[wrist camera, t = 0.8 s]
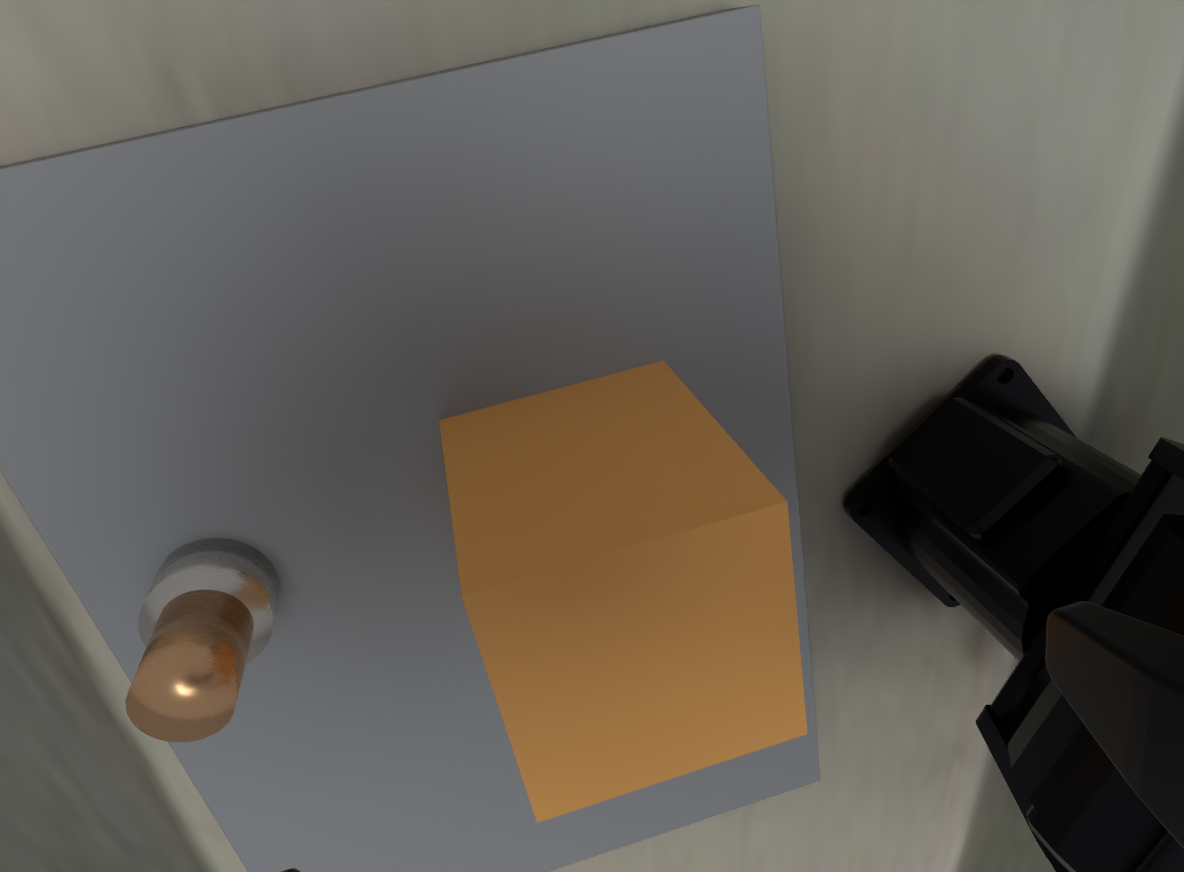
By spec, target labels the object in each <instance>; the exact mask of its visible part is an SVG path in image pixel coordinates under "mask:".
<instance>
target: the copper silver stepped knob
mask: <svg viewBox="0 0 1184 872" xmlns="http://www.w3.org/2000/svg"><path fill="white" fill-rule="evenodd" d="M279 594H280V580H279V576H278V573H277V571H276V569H275V567H274V566H273V564H272V563H271V561H270V560H269V559H268V558H267V557H266V556H265V555H264V554H262V553H261V552H260V551H258V550H257V549H255V548H254V547H252V546H249V545H247V544H245V543H242V542H239V541H235V540H231V539H224V538H210V539H202V540H197V541H194V542H190V543H188V544H186V545H183V546H181V547H180V548H178V549H176V550H175V551H174V552H172V553H171V554H170V555H169V556H168V557H167V558H166V559H165V560H164V562H163V563H162V564H161V566H160V568H159V570H158V572H157V574H156V577H155V579H154V581H153V583H152V586H151V588H150V590H149V592H148V595H147V597H146V599H145V601H144V603H143V606H142V608H141V611H140V614H139V619H138V629H139V634H140V637H141V639H142V642H143V643H144V645H145V646H146V650H145V652H144V655H143V657H142V660H141V662H140V664H139V667H138V669H137V672H136V674H135V677H134V679H133V682H132V684H131V686H130V689H129V691H128V694H127V697H126V710H127V714H128V716H129V718H130V720H131V721H132V723H133V724H134V725H135V726H136V727H137V728H138V729H140V730H141V731H142V732H144V733H145V734H147V735H149V736H151V737H154V738H156V739H160V740H164V741H169V742H191V741H197V740H201V739H204V738H207V737H209V736H211V735H213V734H215V733H217V732H218V731H220V730H221V729H222V728H223V727H225V726H226V725H227V723H228V722H229V721H230V719H231V718H232V716H233V713H234V711H235V707H236V702H237V698H238V694H239V690H240V685H241V681H242V677H243V673H244V669H245V665H246V664H248V663H250V662H251V661H252V660H254V659H255V658H256V657H257V656H258V655H259V654H261V652H262V651H263V650H264V649H265V647H266V646H267V644H268V642H269V639H270V637H271V633H272V628H273V623H274V618H275V613H276V609H277V604H278V599H279Z"/></svg>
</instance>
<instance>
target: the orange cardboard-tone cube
mask: <svg viewBox="0 0 1184 872" xmlns="http://www.w3.org/2000/svg"><path fill="white" fill-rule="evenodd" d="M439 425H440V432H441V440H442V448H443V455H444V463H445V471H446V478H447V486H448V494H449V501H450V509H451V517H452V524H453V532H454V540H455V547H456V555H457V563H458V571H459V578H460V586H461V594H462V599H463V602H464V605H465V608H466V611H467V614H468V617H469V620H470V623H471V626H472V629H473V632H474V635H475V638H476V641H477V644H478V647H479V650H480V653H481V656H482V659H483V662H484V665H485V668H486V671H487V674H488V677H489V680H490V683H491V686H492V689H493V692H494V695H495V698H496V701H497V704H498V707H499V710H500V713H501V716H502V719H503V722H504V725H505V728H506V731H507V734H508V737H509V740H510V743H511V746H512V749H513V752H514V755H515V758H516V761H517V764H518V767H519V770H520V773H521V776H522V779H523V782H524V785H525V788H526V791H527V794H528V797H529V800H530V803H531V806H532V809H533V812H534V815H535V818H536V821H537V823H538V822H541V821H544V820H548V819H551V818H554V817H557V816H560V815H563V814H566V813H569V812H572V811H575V810H578V809H581V808H584V807H587V806H590V805H593V804H596V803H599V802H602V801H605V800H608V799H611V798H614V797H617V796H621V795H624V794H627V793H630V792H633V791H636V790H639V789H642V788H645V787H648V786H651V785H654V784H657V783H660V782H663V781H666V780H669V779H672V778H675V777H678V776H681V775H684V774H687V773H690V772H693V771H697V770H700V769H703V768H706V767H709V766H712V765H715V764H718V763H721V762H724V761H727V760H730V759H733V758H736V757H739V756H742V755H745V754H748V753H751V752H754V751H757V750H760V749H763V748H766V747H769V746H773V745H776V744H779V743H782V742H785V741H788V740H791V739H794V738H797V737H800V736H803V735H806V734H807V723H806V711H805V700H804V688H803V677H802V665H801V653H800V642H799V630H798V619H797V607H796V596H795V584H794V572H793V561H792V549H791V538H790V526H789V515H788V503H787V501H786V500H785V498H784V497H783V496H782V495H781V494H780V493H779V492H778V490H777V489H776V488H775V487H774V486H773V485H772V484H771V482H770V481H769V480H768V479H767V478H766V477H765V476H764V474H763V473H762V472H761V471H760V470H759V469H758V468H757V467H756V465H755V464H754V463H753V462H752V461H751V460H750V459H749V457H748V456H747V455H746V454H745V453H744V452H743V451H742V449H741V448H740V447H739V446H738V445H737V444H736V443H735V441H734V440H733V439H732V438H731V437H730V436H729V435H728V434H727V432H726V431H725V430H724V429H723V428H722V427H721V426H720V424H719V423H718V422H717V421H716V420H715V419H714V418H713V416H712V415H711V414H710V413H709V412H708V411H707V410H706V408H705V407H704V406H703V405H702V404H701V403H700V402H699V401H698V399H697V398H696V397H695V396H694V395H693V394H692V393H691V391H690V390H689V389H688V388H687V387H686V386H685V385H684V383H683V382H682V381H681V380H680V379H679V378H678V377H677V375H676V374H675V373H674V372H673V371H672V370H671V369H670V368H669V366H668V365H667V364H666V363H665V362H664V361H660V362H656V363H652V364H648V365H644V366H641V367H637V368H633V369H629V370H626V371H622V372H618V373H614V374H611V375H607V376H603V377H599V378H596V379H592V380H588V381H584V382H581V383H577V384H573V385H569V386H566V387H562V388H558V389H554V390H551V391H547V392H543V393H539V394H536V395H532V396H528V397H524V398H521V399H517V400H513V401H509V402H506V403H502V404H498V405H494V406H491V407H487V408H483V409H479V410H476V411H472V412H468V413H464V414H461V415H457V416H453V417H449V418H446V419H442V420H439Z"/></svg>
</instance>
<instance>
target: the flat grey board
mask: <svg viewBox="0 0 1184 872" xmlns="http://www.w3.org/2000/svg"><path fill="white" fill-rule="evenodd" d="M660 361H664V362H665V363H666V364H667V365H668V366H669V368H670V369H671V370H672V371H673V372H674V373H675V374H676V375H677V377H678V378H679V379H680V380H681V381H682V382H683V383H684V385H685V386H686V387H687V388H688V389H689V390H690V391H691V393H692V394H693V395H694V396H695V397H696V398H697V399H698V401H699V402H700V403H701V404H702V405H703V406H704V407H705V408H706V410H707V411H708V412H709V413H710V414H711V415H712V416H713V418H714V419H715V420H716V421H717V422H718V423H719V424H720V426H721V427H722V428H723V429H724V430H725V431H726V432H727V434H728V435H729V436H730V437H731V438H732V439H733V440H734V441H735V443H736V444H737V445H738V446H739V447H740V448H741V449H742V451H743V452H744V453H745V454H746V455H747V456H748V457H749V459H750V460H751V461H752V462H753V463H754V464H755V465H756V467H757V468H758V469H759V470H760V471H761V472H762V473H763V474H764V476H765V477H766V478H767V479H768V480H769V481H770V482H771V484H772V485H773V486H774V487H775V488H776V489H777V490H778V492H779V493H780V494H781V495H782V496H783V497H784V498H785V500H786V501H787V503H788V515H789V526H790V538H791V549H792V561H793V572H794V584H795V596H796V607H797V619H798V630H799V642H800V653H801V665H802V677H803V688H804V700H805V711H806V723H807V734H806V735H803V736H800V737H797V738H794V739H791V740H788V741H785V742H782V743H779V744H776V745H773V746H769V747H766V748H763V749H760V750H757V751H754V752H751V753H748V754H745V755H742V756H739V757H736V758H733V759H730V760H727V761H724V762H721V763H718V764H715V765H712V766H709V767H706V768H703V769H700V770H697V771H693V772H690V773H687V774H684V775H681V776H678V777H675V778H672V779H669V780H666V781H663V782H660V783H657V784H654V785H651V786H648V787H645V788H642V789H639V790H636V791H633V792H630V793H627V794H624V795H621V796H617V797H614V798H611V799H608V800H605V801H602V802H599V803H596V804H593V805H590V806H587V807H584V808H581V809H578V810H575V811H572V812H569V813H566V814H563V815H560V816H557V817H554V818H551V819H548V820H544V821H541V822H538V823H537V821H536V818H535V815H534V812H533V809H532V806H531V803H530V800H529V797H528V794H527V791H526V788H525V785H524V782H523V779H522V776H521V773H520V770H519V767H518V764H517V761H516V758H515V755H514V752H513V749H512V746H511V743H510V740H509V737H508V734H507V731H506V728H505V725H504V722H503V719H502V716H501V713H500V710H499V707H498V704H497V701H496V698H495V695H494V692H493V689H492V686H491V683H490V680H489V677H488V674H487V671H486V668H485V665H484V662H483V659H482V656H481V653H480V650H479V647H478V644H477V641H476V638H475V635H474V632H473V629H472V626H471V623H470V620H469V617H468V614H467V611H466V608H465V605H464V602H463V599H462V594H461V586H460V578H459V571H458V563H457V555H456V547H455V540H454V532H453V524H452V517H451V509H450V501H449V494H448V486H447V478H446V471H445V463H444V455H443V448H442V440H441V432H440V425H439V420H442V419H446V418H449V417H453V416H457V415H461V414H464V413H468V412H472V411H476V410H479V409H483V408H487V407H491V406H494V405H498V404H502V403H506V402H509V401H513V400H517V399H521V398H524V397H528V396H532V395H536V394H539V393H543V392H547V391H551V390H554V389H558V388H562V387H566V386H569V385H573V384H577V383H581V382H584V381H588V380H592V379H596V378H599V377H603V376H607V375H611V374H614V373H618V372H622V371H626V370H629V369H633V368H637V367H641V366H644V365H648V364H652V363H656V362H660ZM0 471H1V472H2V474H3V475H4V477H5V479H6V480H7V482H8V484H9V485H10V487H11V488H12V490H13V492H14V493H15V495H16V497H17V498H18V500H19V501H20V503H21V505H22V506H23V508H24V510H25V511H26V513H27V514H28V516H29V518H30V519H31V521H32V522H33V524H34V526H35V527H36V529H37V531H38V532H39V534H40V535H41V537H42V539H43V540H44V542H45V544H46V545H47V547H48V548H49V550H50V552H51V553H52V555H53V557H54V558H55V560H56V561H57V563H58V565H59V566H60V568H61V570H62V571H63V573H64V574H65V576H66V578H67V579H68V581H69V582H70V584H71V586H72V587H73V589H74V591H75V592H76V594H77V595H78V597H79V599H80V600H81V602H82V604H83V605H84V607H85V608H86V610H87V612H88V613H89V615H90V617H91V618H92V620H93V621H94V623H95V625H96V626H97V628H98V630H99V631H100V633H101V634H102V636H103V638H104V639H105V641H106V642H107V644H108V646H109V647H110V649H111V651H112V652H113V654H114V655H115V657H116V659H117V660H118V662H119V664H120V665H121V667H122V668H123V670H124V672H125V673H126V675H127V677H128V678H129V680H130V681H131V683H132V682H133V679H134V677H135V674H136V672H137V669H138V667H139V664H140V662H141V660H142V657H143V655H144V652H145V650H146V646H145V645H144V643H143V642H142V639H141V637H140V634H139V629H138V619H139V614H140V611H141V608H142V606H143V603H144V601H145V599H146V597H147V595H148V592H149V590H150V588H151V586H152V583H153V581H154V579H155V577H156V574H157V572H158V570H159V568H160V566H161V564H162V563H163V562H164V560H165V559H166V558H167V557H168V556H169V555H170V554H171V553H172V552H174V551H175V550H176V549H178V548H180V547H181V546H183V545H186V544H188V543H190V542H194V541H197V540H202V539H210V538H224V539H231V540H235V541H239V542H242V543H245V544H247V545H249V546H252V547H254V548H255V549H257V550H258V551H260V552H261V553H262V554H264V555H265V556H266V557H267V558H268V559H269V560H270V561H271V563H272V564H273V566H274V567H275V569H276V571H277V573H278V576H279V580H280V594H279V599H278V604H277V609H276V613H275V618H274V623H273V628H272V633H271V637H270V639H269V642H268V644H267V646H266V647H265V649H264V650H263V651H262V652H261V654H259V655H258V656H257V657H256V658H255V659H254V660H252V661H251V662H250V663H248V664H246V665H245V669H244V673H243V677H242V681H241V685H240V690H239V694H238V698H237V702H236V707H235V711H234V713H233V716H232V718H231V719H230V721H229V722H228V723H227V725H226V726H225V727H223V728H222V729H221V730H220V731H218V732H217V733H215V734H213V735H211V736H209V737H207V738H204V739H201V740H197V741H191V742H169V741H168V743H169V745H170V746H171V748H172V750H173V751H174V753H175V754H176V756H177V758H178V759H179V761H180V763H181V764H182V766H183V767H184V769H185V771H186V772H187V774H188V775H189V777H190V779H191V780H192V782H193V784H194V785H195V787H196V788H197V790H198V792H199V793H200V795H201V797H202V798H203V800H204V801H205V803H206V805H207V806H208V808H209V810H210V811H211V813H212V814H213V816H214V818H215V819H216V821H217V823H218V824H219V826H220V827H221V829H222V831H223V832H224V834H225V835H226V837H227V839H228V840H229V842H230V844H231V845H232V847H233V848H234V850H235V852H236V853H237V855H238V857H239V858H240V860H241V861H242V863H243V865H244V866H245V868H246V870H247V871H248V872H281V871H284V870H287V869H290V868H295V869H298V870H299V871H300V872H549V871H552V870H555V869H558V868H561V867H564V866H567V865H570V864H573V863H576V862H579V861H582V860H585V859H587V858H590V857H593V856H596V855H599V854H602V853H605V852H608V851H611V850H614V849H617V848H620V847H623V846H626V845H629V844H632V843H635V842H638V841H641V840H644V839H647V838H650V837H653V836H656V835H659V834H662V833H665V832H668V831H671V830H674V829H677V828H680V827H683V826H686V825H689V824H691V823H694V822H697V821H700V820H703V819H706V818H709V817H712V816H715V815H718V814H721V813H724V812H727V811H730V810H733V809H736V808H739V807H742V806H745V805H748V804H751V803H754V802H757V801H760V800H763V799H766V798H769V797H772V796H775V795H778V794H781V793H784V792H787V791H790V790H793V789H795V788H798V787H801V786H804V785H807V784H810V783H813V782H816V781H819V780H820V767H819V755H818V742H817V729H816V717H815V704H814V691H813V679H812V666H811V653H810V640H809V628H808V615H807V602H806V590H805V577H804V564H803V551H802V539H801V526H800V513H799V501H798V488H797V475H796V462H795V450H794V437H793V424H792V412H791V399H790V386H789V374H788V361H787V348H786V335H785V323H784V310H783V297H782V285H781V272H780V259H779V246H778V234H777V221H776V208H775V196H774V183H773V170H772V158H771V145H770V132H769V119H768V107H767V94H766V81H765V69H764V56H763V43H762V30H761V18H760V5H755V6H747V7H738V8H731V9H727V10H722V11H717V12H713V13H708V14H704V15H699V16H694V17H690V18H685V19H680V20H676V21H671V22H667V23H662V24H657V25H653V26H648V27H643V28H639V29H634V30H630V31H625V32H620V33H616V34H611V35H606V36H602V37H597V38H593V39H588V40H583V41H579V42H574V43H569V44H565V45H560V46H556V47H551V48H546V49H542V50H537V51H532V52H528V53H523V54H519V55H514V56H509V57H505V58H500V59H495V60H491V61H486V62H482V63H477V64H472V65H468V66H463V67H458V68H454V69H449V70H445V71H440V72H435V73H431V74H426V75H421V76H417V77H412V78H408V79H403V80H398V81H394V82H389V83H385V84H380V85H375V86H371V87H366V88H361V89H357V90H352V91H348V92H343V93H338V94H334V95H329V96H324V97H320V98H315V99H311V100H306V101H301V102H297V103H292V104H287V105H283V106H278V107H274V108H269V109H264V110H260V111H255V112H250V113H246V114H241V115H237V116H232V117H227V118H223V119H218V120H213V121H209V122H204V123H200V124H195V125H190V126H186V127H181V128H176V129H172V130H167V131H163V132H158V133H153V134H149V135H144V136H139V137H135V138H130V139H126V140H121V141H116V142H112V143H107V144H102V145H98V146H93V147H89V148H84V149H79V150H75V151H70V152H66V153H61V154H56V155H52V156H47V157H42V158H38V159H33V160H29V161H24V162H19V163H15V164H10V165H5V166H1V167H0Z"/></svg>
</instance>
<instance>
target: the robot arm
mask: <svg viewBox="0 0 1184 872" xmlns="http://www.w3.org/2000/svg"><path fill="white" fill-rule="evenodd" d="M1003 369H1004V373H1003V374H1002V375H1001V377H999V378H998V375H999V373H1000V372H1001V371H1002V370H1003ZM1148 458H1149V459H1151V461H1150V463H1149V464H1148V466H1147V467H1146V469H1145V470H1144V472H1143V474H1142V475H1140V474H1139V473H1137V472H1135V471H1133V470H1132V469H1130V468H1128V467H1126V466H1125V465H1123V464H1121V463H1119V462H1118V461H1116V460H1114V459H1112V458H1110V457H1109V456H1107V455H1105V454H1103V453H1102V452H1100V451H1098V450H1096V449H1095V448H1093V447H1091V446H1089V445H1087V444H1086V443H1084V442H1082V441H1080V440H1079V439H1077V438H1076V436H1075V435H1074V434H1073V433H1072V431H1071V430H1070V429H1069V427H1068V426H1067V425H1066V424H1065V422H1064V421H1063V420H1062V418H1061V417H1060V416H1059V415H1058V413H1057V412H1056V411H1055V409H1054V408H1053V407H1052V406H1051V404H1050V403H1049V402H1048V400H1047V399H1046V398H1045V396H1044V395H1043V394H1042V393H1041V391H1040V390H1039V389H1038V387H1037V386H1036V385H1035V384H1034V382H1033V381H1032V380H1031V378H1030V377H1029V376H1028V375H1027V373H1026V372H1025V371H1024V369H1023V368H1022V367H1021V366H1020V364H1019V363H1018V362H1016V361H1015V360H1013V359H1011V358H1009V357H1007V356H1003V355H999V356H996V357H993V358H992V359H990V360H989V361H988V362H987V363H986V364H985V365H984V366H983V367H981V368H980V369H979V370H978V371H977V372H976V373H975V374H974V375H973V376H972V377H971V378H970V379H969V380H968V381H967V382H966V383H965V384H964V385H963V386H962V387H961V388H959V389H958V390H957V391H956V392H955V393H954V394H953V395H952V396H951V397H950V398H949V399H948V400H947V401H946V402H945V403H944V404H943V405H942V406H941V407H940V408H939V409H937V410H936V411H935V412H934V413H933V414H932V415H931V416H930V417H929V418H928V419H927V420H926V421H925V422H924V423H923V424H922V425H921V426H920V427H919V428H918V429H917V430H915V431H914V432H913V433H912V434H911V435H910V436H909V437H908V438H907V439H906V440H905V441H904V442H903V443H902V444H901V445H900V446H899V447H898V448H897V449H896V450H895V451H893V452H892V453H891V454H890V455H889V456H888V457H887V458H886V459H885V460H884V461H883V462H882V463H881V464H880V465H879V466H878V467H877V468H876V469H875V470H874V471H873V472H871V473H870V474H869V475H868V476H867V477H866V478H865V479H864V480H863V481H862V482H861V483H860V484H859V485H858V486H857V487H856V488H855V489H854V490H853V491H852V492H851V493H850V494H849V495H848V496H847V497H846V499H845V502H844V510H845V512H846V513H847V514H848V515H849V516H850V517H851V518H852V519H853V520H854V521H855V522H856V523H857V524H858V525H859V526H860V527H861V528H862V529H863V530H865V531H866V532H867V533H868V534H869V535H870V536H871V537H872V538H873V539H874V540H875V541H876V542H878V543H879V544H880V545H881V546H882V547H883V548H884V549H885V550H886V551H887V552H888V553H889V554H891V555H892V556H893V557H894V558H895V559H896V560H897V561H898V562H899V563H900V564H901V565H902V566H904V567H905V568H906V569H907V570H908V571H909V572H910V573H911V574H912V575H913V576H914V577H915V578H917V579H918V580H919V581H920V582H921V583H922V584H923V585H924V586H925V587H926V588H927V589H928V590H930V591H931V592H932V593H933V594H934V595H935V596H936V597H937V598H938V599H939V600H940V601H941V602H943V603H944V604H945V605H946V606H948V607H955V606H958V605H960V604H961V605H962V606H963V607H964V608H965V609H966V610H967V611H968V612H969V613H970V614H971V615H972V616H973V617H974V618H975V619H976V620H977V621H978V622H979V623H980V624H981V625H982V626H983V627H984V628H986V629H987V630H988V631H989V632H990V633H991V634H992V635H993V636H994V637H995V638H996V639H997V640H998V641H999V642H1000V643H1001V644H1002V645H1003V646H1004V647H1005V648H1006V649H1007V650H1008V651H1009V652H1010V653H1011V654H1012V655H1013V656H1014V657H1015V658H1016V659H1017V660H1018V661H1019V663H1018V664H1017V666H1016V667H1015V669H1014V670H1013V672H1012V673H1011V675H1010V676H1009V678H1008V680H1007V681H1006V683H1005V684H1004V686H1003V687H1002V689H1001V690H1000V692H999V693H998V695H997V696H996V698H995V699H994V701H993V702H992V704H991V705H986V706H985V707H984V709H983V711H982V712H981V714H980V715H979V717H978V718H977V720H976V724H977V726H978V728H979V730H980V732H981V734H982V736H983V738H984V740H985V742H986V744H987V746H988V748H989V750H990V752H991V753H992V755H993V757H994V759H995V761H996V763H997V765H998V767H999V769H1000V771H1001V773H1002V775H1003V777H1004V779H1005V781H1006V783H1007V785H1008V786H1009V788H1010V790H1011V792H1012V794H1013V796H1014V798H1015V800H1016V802H1017V804H1018V806H1019V808H1020V810H1021V812H1022V814H1023V816H1024V818H1025V819H1026V821H1027V823H1028V825H1029V827H1030V829H1031V831H1032V833H1033V835H1034V837H1035V839H1036V841H1037V842H1038V844H1039V846H1040V847H1041V849H1042V850H1043V852H1044V854H1045V855H1046V857H1047V858H1048V860H1049V861H1050V862H1051V864H1052V866H1053V868H1054V869H1055V871H1056V872H1184V444H1181V443H1178V442H1175V441H1171V440H1168V439H1165V438H1162V437H1161V438H1160V439H1159V441H1158V443H1157V444H1156V446H1155V447H1154V449H1153V450H1152V452H1151V453H1150V455H1149V456H1148ZM863 502H866V503H865V505H864V506H863V507H862V508H860V509H858V507H859V506H860V504H862V503H863ZM281 872H300V871H299V870H298V869H295V868H290V869H287V870H284V871H281Z"/></svg>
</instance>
